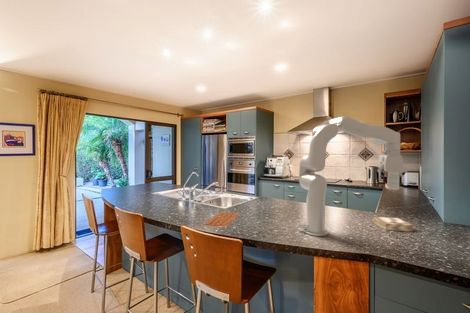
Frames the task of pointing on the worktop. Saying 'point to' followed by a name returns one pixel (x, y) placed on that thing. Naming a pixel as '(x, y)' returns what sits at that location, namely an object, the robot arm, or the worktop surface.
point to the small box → (392, 180)
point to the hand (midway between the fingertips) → (392, 183)
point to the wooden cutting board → (222, 219)
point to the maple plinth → (393, 224)
